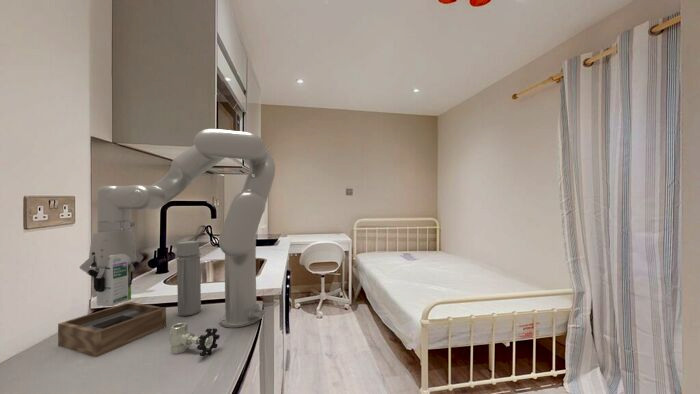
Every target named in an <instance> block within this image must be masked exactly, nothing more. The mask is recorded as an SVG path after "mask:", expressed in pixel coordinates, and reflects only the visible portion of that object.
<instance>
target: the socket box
mask: <svg viewBox="0 0 700 394" xmlns="http://www.w3.org/2000/svg"><path fill="white" fill-rule="evenodd" d="M164 327H165V328H166V327H167V308H166V307H161V306H156V305H150V304H143V303H138V302H133V301H128V302H125V303H120V304H119V305H118V304H117V305H114V306H110V307H108V308H105V309H102V310H99V311H95V312H92V313H90V314H86V315H83V316H79V317H76V318H72V319H69V320H66V321H63V322H60V323H57V339H58V340H57V345H58V346H59V347H62V348H65V349H68V350H72V351H75V352H77V353H81V354H85V355H87V356H91V357H93V358H97V357H99V356H102V355H104V354H107V353H108V352H111V351H114V350H116V349H118V348H121V347H123V346H125V345H127V344H130V343H133V342H135V341H137V340H139V339H142V338H143V337H146V335H147V336H148V335H150V334H154V333H156V332H158V331H160V329H161V330H163V329H165V328H164ZM162 328H163V329H162ZM155 331H156V332H155ZM153 332H154V333H153Z"/></svg>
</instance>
